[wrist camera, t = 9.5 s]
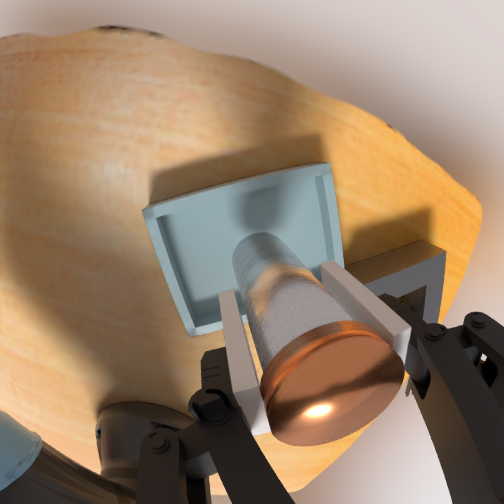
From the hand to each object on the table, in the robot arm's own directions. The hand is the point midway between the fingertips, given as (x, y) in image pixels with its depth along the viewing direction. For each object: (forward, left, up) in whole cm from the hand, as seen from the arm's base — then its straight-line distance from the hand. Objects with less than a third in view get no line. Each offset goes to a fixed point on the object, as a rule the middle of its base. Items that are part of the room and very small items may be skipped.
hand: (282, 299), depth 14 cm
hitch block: (+13, -10, -9) cm, 19 cm away
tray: (0, 0, -9) cm, 9 cm away
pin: (0, 0, -6) cm, 6 cm away
